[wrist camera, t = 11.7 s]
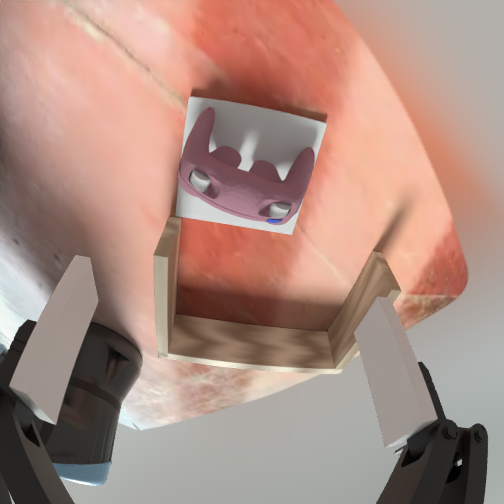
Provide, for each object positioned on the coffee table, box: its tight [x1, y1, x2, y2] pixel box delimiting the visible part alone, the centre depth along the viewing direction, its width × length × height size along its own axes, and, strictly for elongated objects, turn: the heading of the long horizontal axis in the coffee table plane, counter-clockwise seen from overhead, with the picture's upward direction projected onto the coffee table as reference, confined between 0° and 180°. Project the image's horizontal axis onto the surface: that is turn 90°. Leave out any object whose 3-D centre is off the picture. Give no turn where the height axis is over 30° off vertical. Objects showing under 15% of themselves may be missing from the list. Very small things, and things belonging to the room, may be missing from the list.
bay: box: [154, 216, 401, 374], centre depth 31 cm, size 22×15×6 cm
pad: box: [176, 96, 327, 235], centre depth 24 cm, size 11×11×1 cm
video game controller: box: [177, 107, 315, 225], centre depth 21 cm, size 10×5×7 cm, turn 67°
